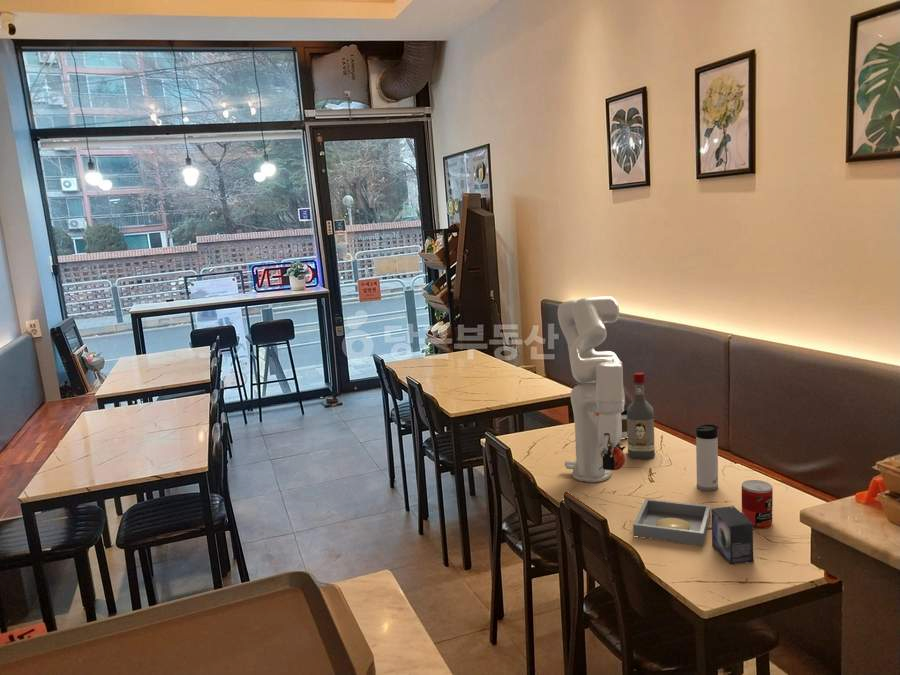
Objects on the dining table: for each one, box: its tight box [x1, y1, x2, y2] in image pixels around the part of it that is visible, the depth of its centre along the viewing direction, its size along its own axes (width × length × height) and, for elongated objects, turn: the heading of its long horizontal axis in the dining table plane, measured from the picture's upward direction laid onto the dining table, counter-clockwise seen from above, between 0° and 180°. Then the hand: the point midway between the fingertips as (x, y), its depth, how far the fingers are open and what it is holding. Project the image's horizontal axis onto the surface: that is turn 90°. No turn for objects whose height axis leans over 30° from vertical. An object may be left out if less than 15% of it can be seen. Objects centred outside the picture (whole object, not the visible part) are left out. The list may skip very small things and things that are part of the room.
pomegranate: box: [599, 446, 627, 471], centre depth 201 cm, size 7×7×10 cm
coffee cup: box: [621, 403, 630, 438], centre depth 270 cm, size 11×11×12 cm
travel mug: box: [695, 423, 720, 492], centre depth 217 cm, size 6×7×20 cm
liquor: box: [627, 372, 656, 460], centre depth 248 cm, size 9×9×30 cm
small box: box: [711, 505, 755, 565], centre depth 176 cm, size 11×6×10 cm, turn 5°
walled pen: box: [632, 498, 712, 547], centre depth 193 cm, size 18×18×4 cm
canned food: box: [741, 479, 774, 530], centre depth 191 cm, size 8×8×11 cm
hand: (612, 464), depth 201 cm, fingers closed on pomegranate, 7 cm apart
